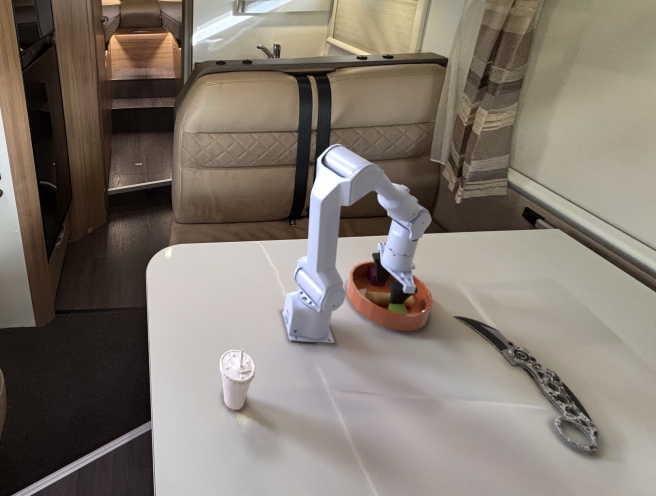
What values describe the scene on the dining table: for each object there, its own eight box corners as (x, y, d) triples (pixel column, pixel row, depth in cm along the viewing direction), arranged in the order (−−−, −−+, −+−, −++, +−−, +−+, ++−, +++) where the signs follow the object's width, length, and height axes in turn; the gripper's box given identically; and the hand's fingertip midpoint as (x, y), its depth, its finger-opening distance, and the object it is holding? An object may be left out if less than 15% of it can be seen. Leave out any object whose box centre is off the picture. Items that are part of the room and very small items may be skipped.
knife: (453, 313, 98) (496, 310, 98) (452, 318, 98) (494, 315, 98) (571, 452, 72) (630, 447, 72) (568, 457, 72) (626, 453, 72)
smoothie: (244, 424, 77) (250, 371, 72) (211, 405, 80) (215, 353, 75) (255, 394, 82) (262, 342, 77) (224, 378, 85) (229, 326, 80)
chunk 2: (391, 325, 96) (394, 316, 94) (386, 312, 99) (389, 303, 97) (406, 325, 95) (410, 317, 94) (400, 312, 98) (404, 304, 97)
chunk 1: (371, 285, 107) (374, 275, 106) (366, 276, 110) (368, 266, 109) (384, 286, 107) (387, 276, 105) (379, 277, 110) (381, 267, 108)
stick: (365, 304, 102) (370, 303, 100) (364, 291, 103) (368, 290, 101) (409, 307, 101) (415, 306, 99) (407, 294, 102) (412, 293, 100)
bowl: (362, 330, 95) (366, 313, 94) (336, 274, 111) (340, 259, 109) (442, 335, 94) (448, 318, 92) (405, 278, 110) (410, 263, 108)
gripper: (436, 271, 89) (420, 319, 95) (403, 228, 103) (391, 272, 108) (401, 269, 90) (387, 317, 95) (373, 227, 103) (362, 270, 108)
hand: (387, 293), depth 102 cm, fingers open, 7 cm apart
